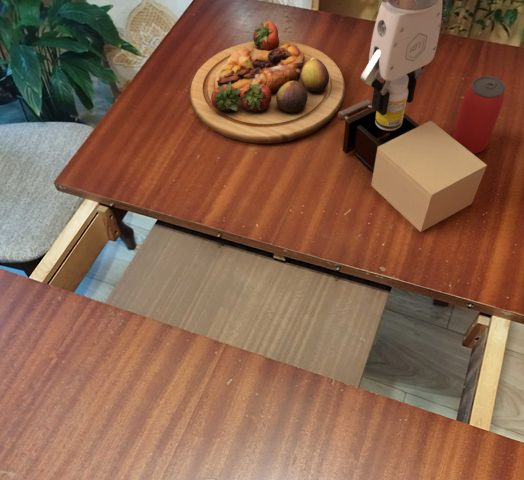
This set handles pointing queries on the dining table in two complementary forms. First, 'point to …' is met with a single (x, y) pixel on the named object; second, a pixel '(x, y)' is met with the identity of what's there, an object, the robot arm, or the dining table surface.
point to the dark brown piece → (368, 132)
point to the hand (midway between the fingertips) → (392, 103)
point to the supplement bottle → (394, 105)
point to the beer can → (479, 113)
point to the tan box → (426, 175)
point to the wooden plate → (267, 89)
